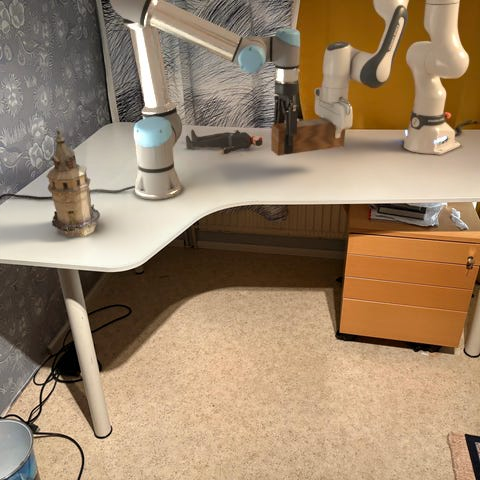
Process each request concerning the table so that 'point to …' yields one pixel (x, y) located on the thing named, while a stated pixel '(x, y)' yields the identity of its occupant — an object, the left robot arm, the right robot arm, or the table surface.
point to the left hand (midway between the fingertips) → (284, 150)
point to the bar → (307, 136)
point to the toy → (224, 141)
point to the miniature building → (70, 193)
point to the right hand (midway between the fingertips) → (331, 134)
